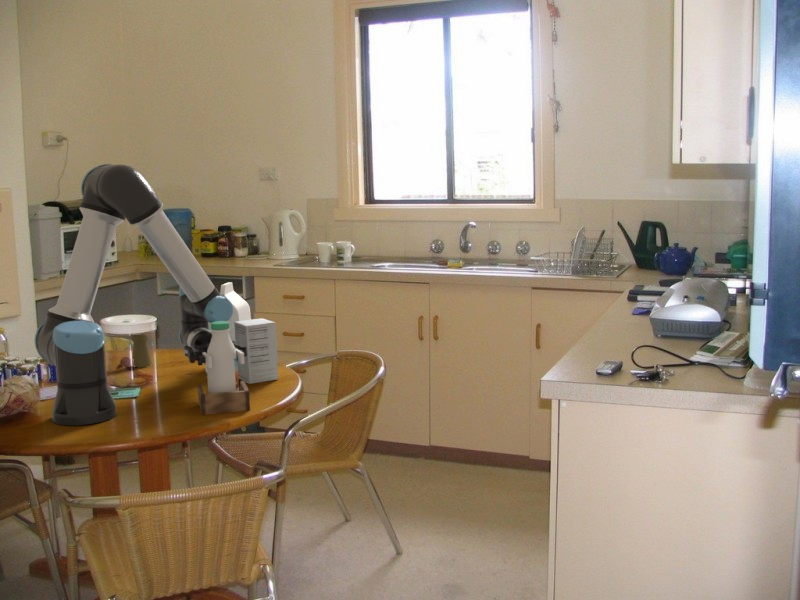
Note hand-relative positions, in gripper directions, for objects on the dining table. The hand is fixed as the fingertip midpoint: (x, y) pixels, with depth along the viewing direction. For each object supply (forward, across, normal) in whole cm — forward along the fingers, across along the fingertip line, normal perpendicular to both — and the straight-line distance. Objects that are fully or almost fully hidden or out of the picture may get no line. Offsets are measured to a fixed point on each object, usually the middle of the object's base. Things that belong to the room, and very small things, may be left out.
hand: (226, 360), depth 224 cm
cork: (-62, +10, -13) cm, 65 cm away
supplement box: (-28, -16, -13) cm, 35 cm away
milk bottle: (-5, 0, -11) cm, 12 cm away
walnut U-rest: (-5, 0, -13) cm, 14 cm away
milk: (-45, -13, -13) cm, 49 cm away
